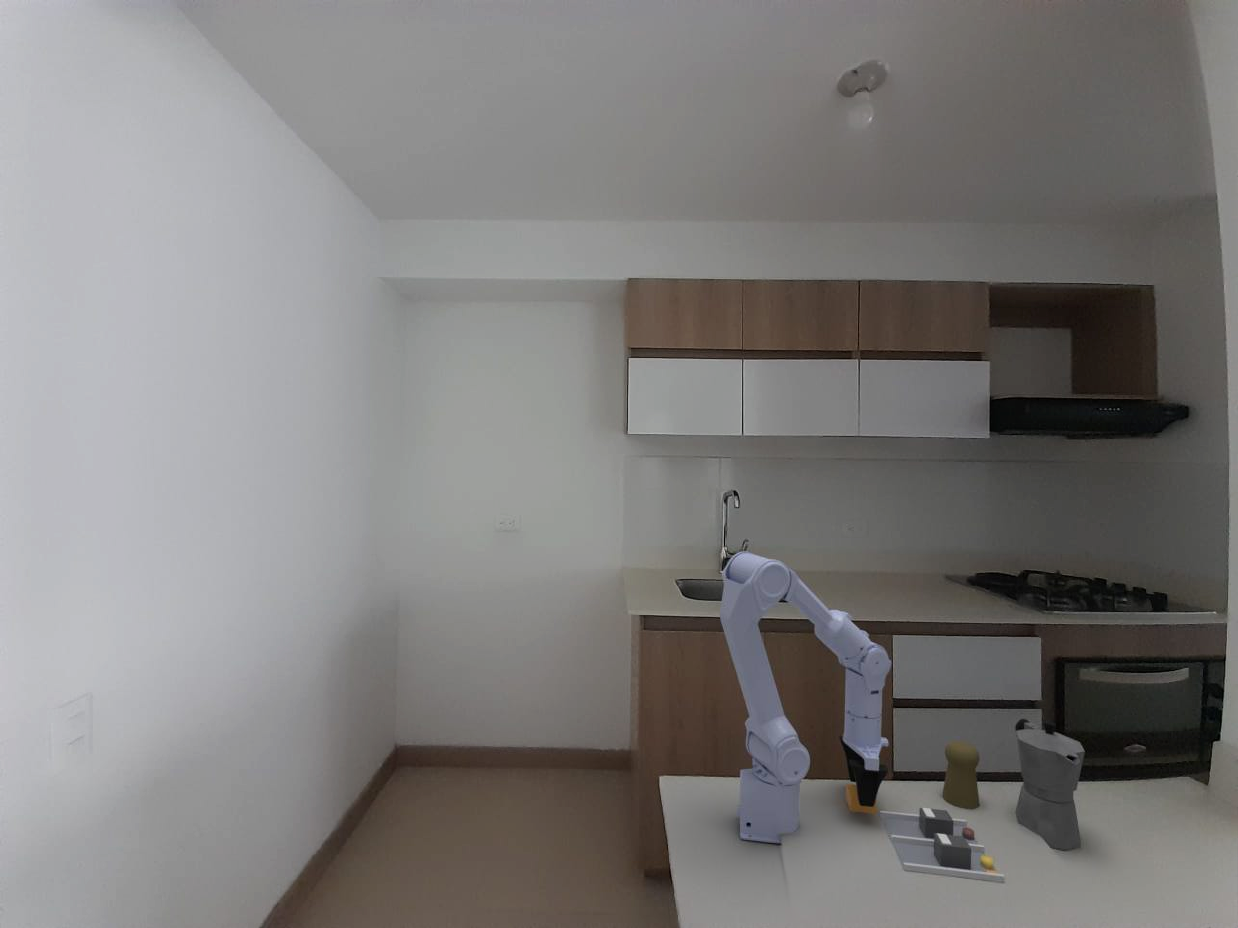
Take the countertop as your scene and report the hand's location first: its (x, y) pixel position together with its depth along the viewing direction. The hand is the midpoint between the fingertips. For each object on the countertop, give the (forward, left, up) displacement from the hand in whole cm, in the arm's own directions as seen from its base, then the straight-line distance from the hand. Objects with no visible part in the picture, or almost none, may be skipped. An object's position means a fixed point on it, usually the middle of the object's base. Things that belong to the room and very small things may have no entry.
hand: (861, 792), depth 106 cm
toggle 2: (+10, -13, -2) cm, 16 cm away
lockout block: (0, 0, -4) cm, 4 cm away
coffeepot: (+28, +1, -4) cm, 29 cm away
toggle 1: (+10, -6, -2) cm, 12 cm away
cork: (+17, +5, -4) cm, 19 cm away
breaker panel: (+9, -10, -4) cm, 14 cm away
